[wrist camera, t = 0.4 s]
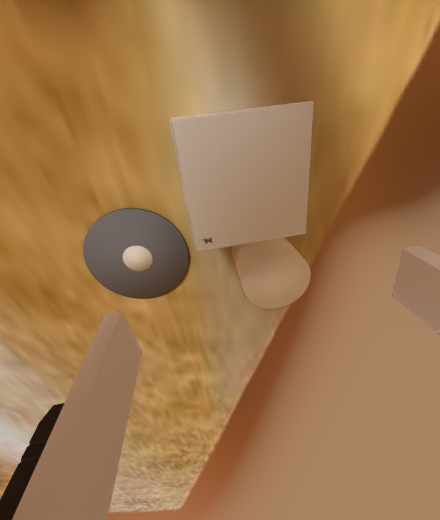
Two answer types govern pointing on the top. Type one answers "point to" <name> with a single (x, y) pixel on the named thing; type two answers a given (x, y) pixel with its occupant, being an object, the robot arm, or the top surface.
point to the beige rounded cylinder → (271, 272)
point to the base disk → (136, 253)
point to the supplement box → (245, 173)
